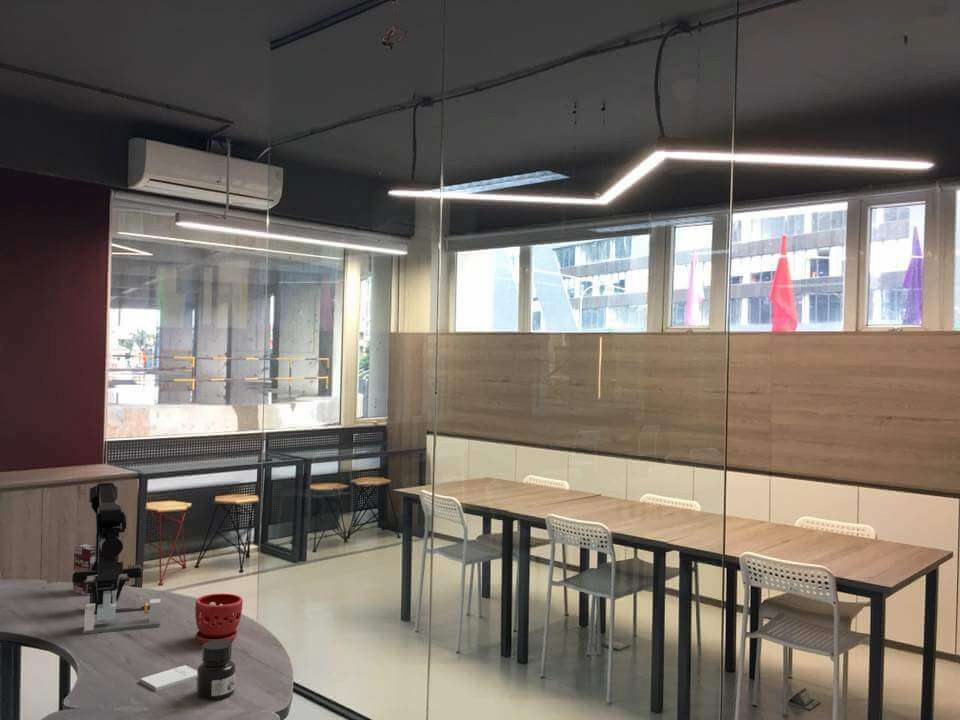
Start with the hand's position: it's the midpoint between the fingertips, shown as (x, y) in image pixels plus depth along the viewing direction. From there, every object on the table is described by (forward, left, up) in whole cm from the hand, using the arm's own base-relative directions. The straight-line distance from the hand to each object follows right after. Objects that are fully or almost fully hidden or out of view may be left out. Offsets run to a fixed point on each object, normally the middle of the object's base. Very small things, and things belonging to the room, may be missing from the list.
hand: (106, 601), depth 234 cm
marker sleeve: (0, 0, -5) cm, 5 cm away
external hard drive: (+45, -21, -9) cm, 51 cm away
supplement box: (-36, +24, -8) cm, 44 cm away
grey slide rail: (+3, +3, -8) cm, 9 cm away
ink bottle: (+61, -23, -8) cm, 66 cm away
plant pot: (+36, +7, -8) cm, 38 cm away
